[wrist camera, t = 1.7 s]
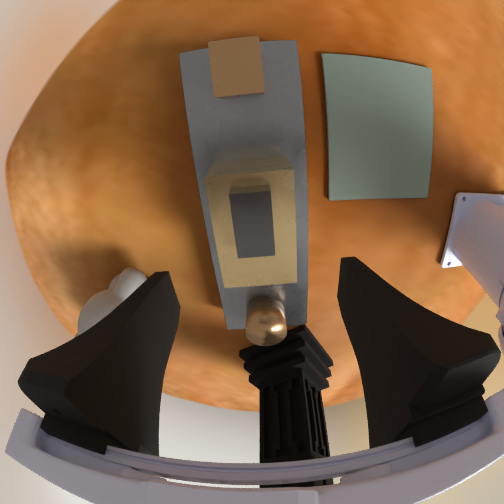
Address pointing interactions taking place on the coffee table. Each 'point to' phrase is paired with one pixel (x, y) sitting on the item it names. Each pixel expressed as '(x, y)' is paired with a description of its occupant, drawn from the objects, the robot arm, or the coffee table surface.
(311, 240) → the coffee table surface
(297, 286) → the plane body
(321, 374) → the chess piece
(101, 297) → the chubby cartoon animal
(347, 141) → the rubber mat
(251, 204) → the pale yellow block
